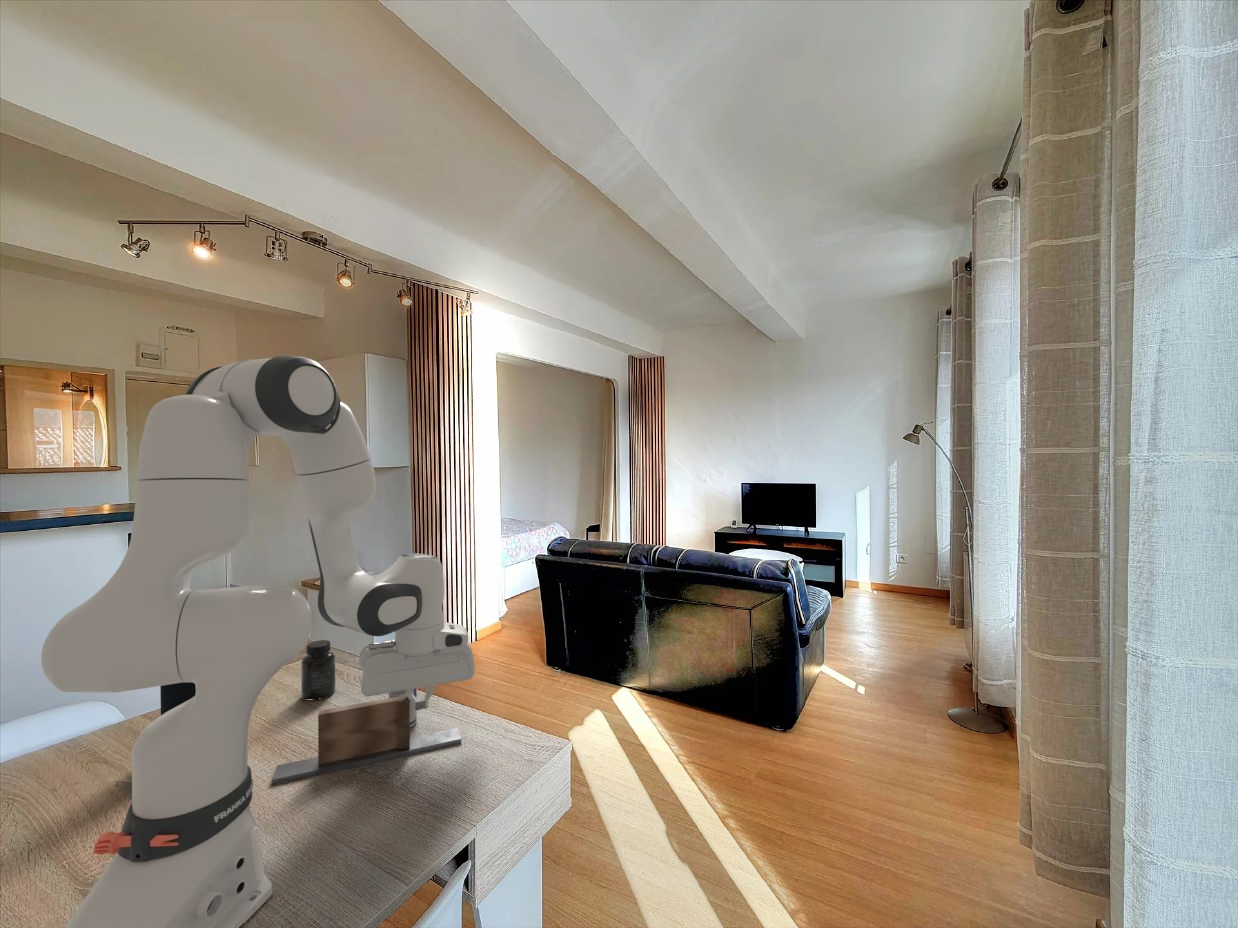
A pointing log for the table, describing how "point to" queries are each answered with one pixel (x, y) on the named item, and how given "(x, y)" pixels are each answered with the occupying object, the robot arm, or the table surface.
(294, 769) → the screen rail
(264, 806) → the table surface
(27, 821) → the table surface
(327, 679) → the supplement bottle
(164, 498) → the robot arm
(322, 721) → the walnut screen
